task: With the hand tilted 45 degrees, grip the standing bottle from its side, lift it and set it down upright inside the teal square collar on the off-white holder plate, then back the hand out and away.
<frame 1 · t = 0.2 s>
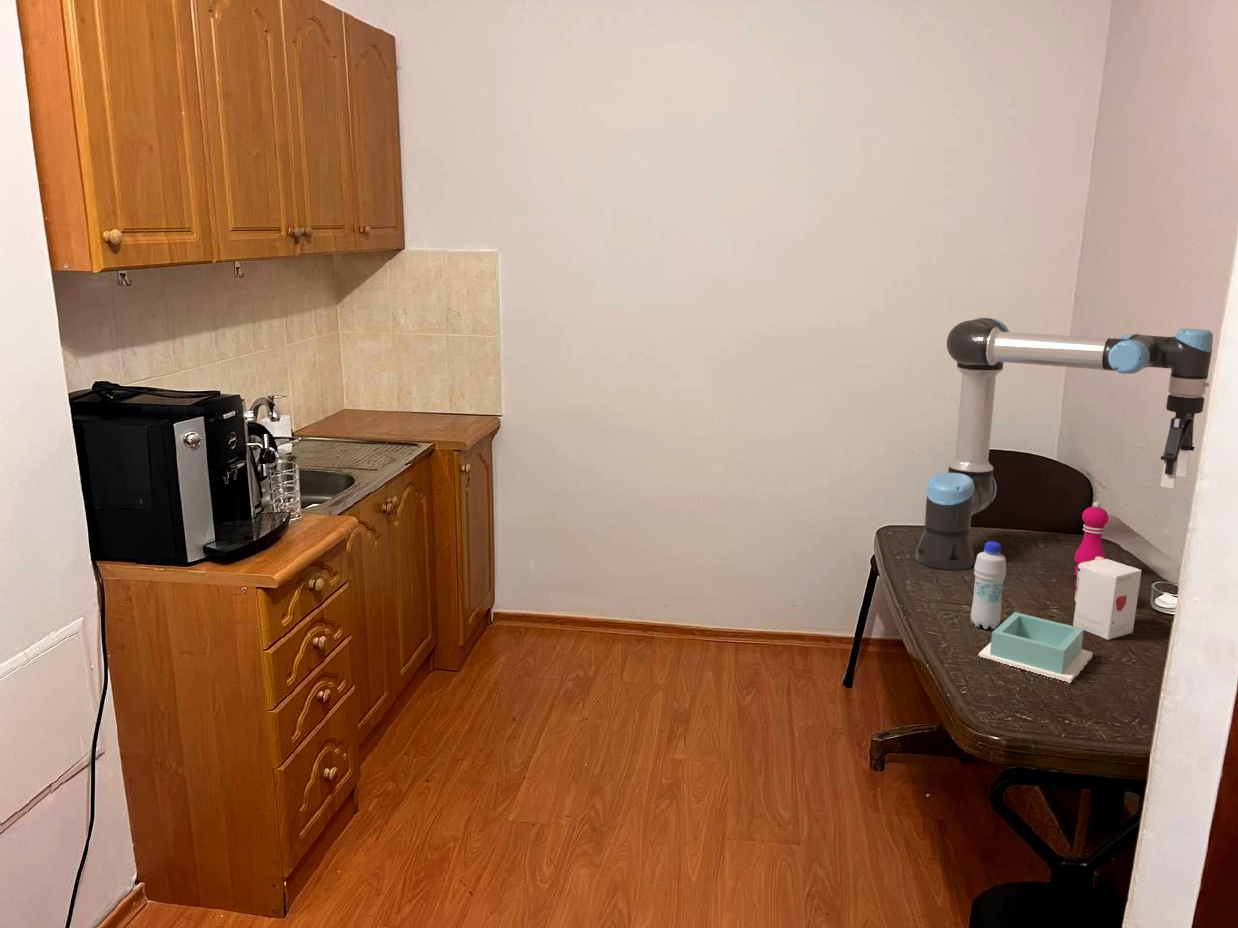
hand: (1173, 481, 224), 28 cm above the table, tool pointing down, fingers open, 13 cm apart
holder: (1035, 657, 194), on the table
teacup with lid: (1095, 606, 221), on the table
bottle: (984, 626, 210), on the table
supplement box: (1102, 630, 208), on the table
magenta tall rounded piece: (1088, 576, 241), on the table
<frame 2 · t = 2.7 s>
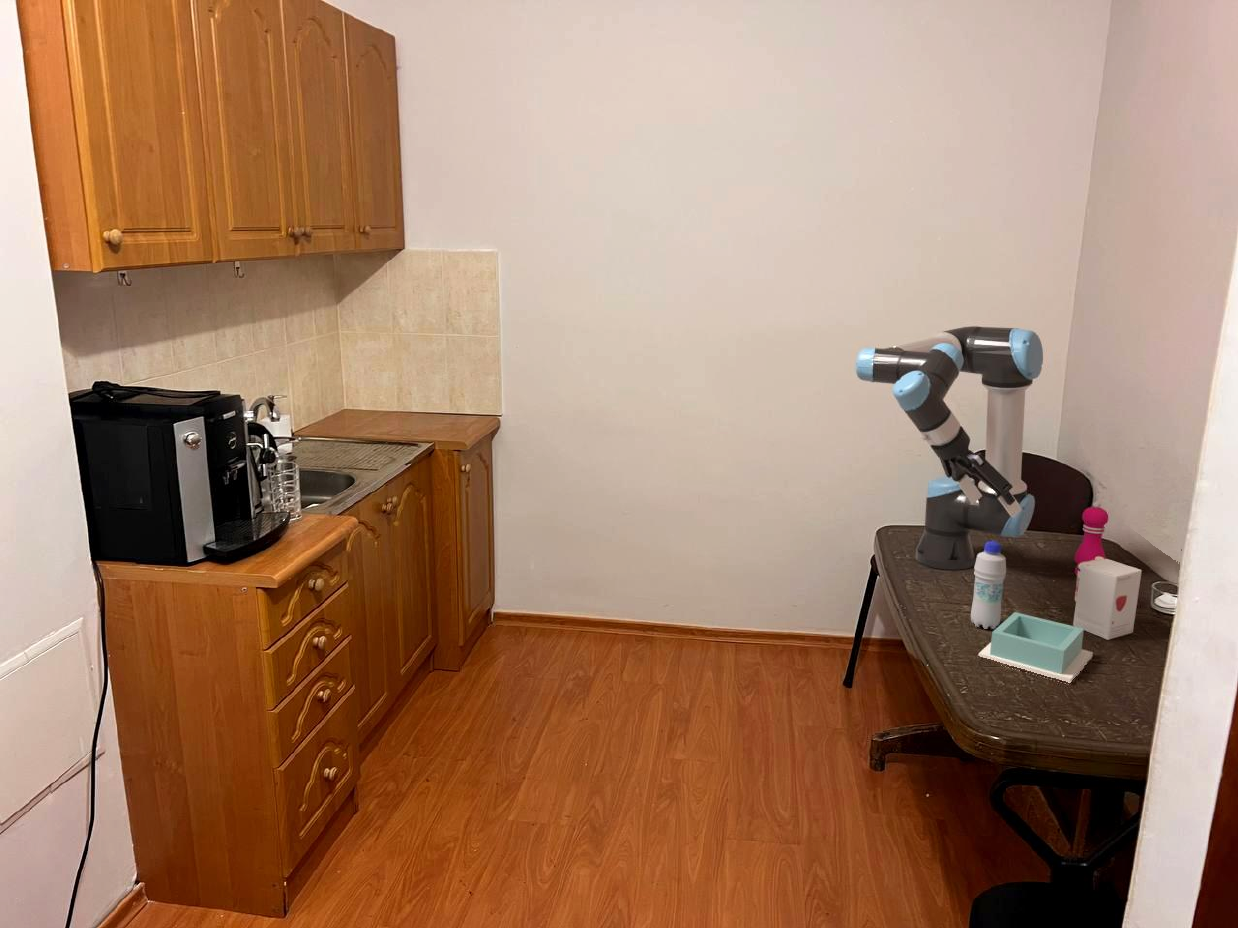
hand: (996, 506, 202), 29 cm above the table, tool tilted 40°, fingers open, 13 cm apart
nothing on the table moved.
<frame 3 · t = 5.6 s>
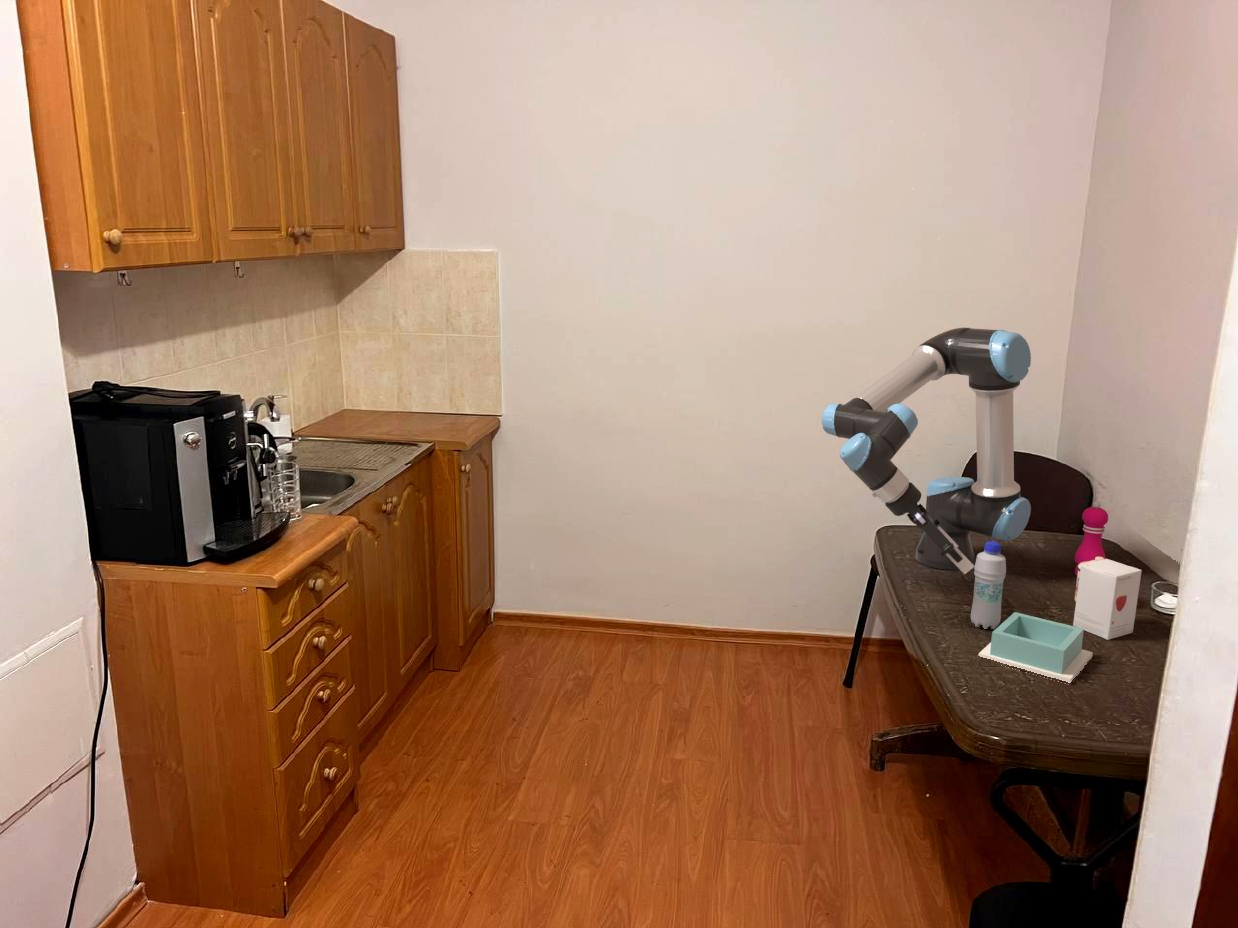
hand: (961, 559, 206), 16 cm above the table, tool tilted 45°, fingers open, 13 cm apart
nothing on the table moved.
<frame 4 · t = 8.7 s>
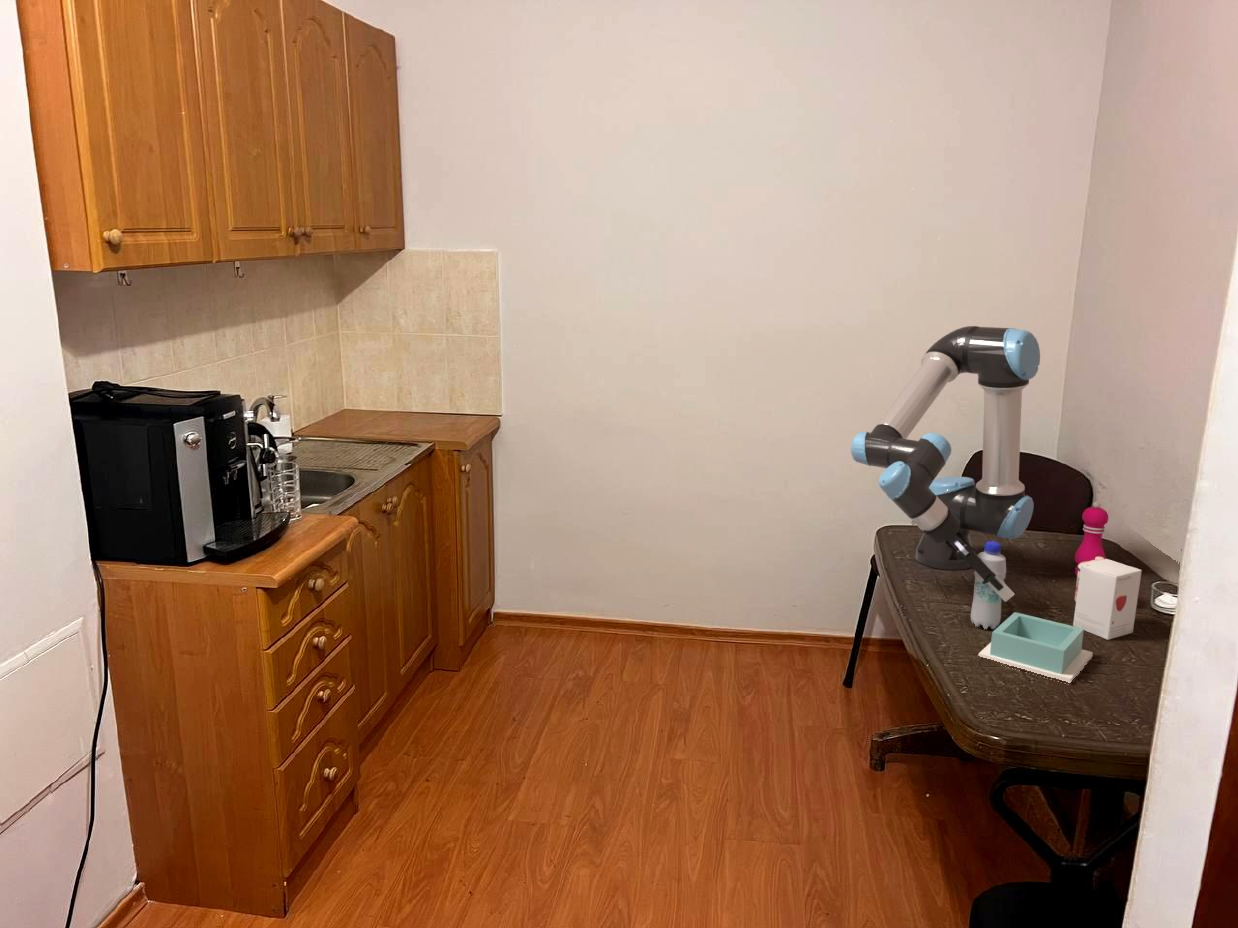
hand: (1004, 591, 208), 8 cm above the table, tool tilted 45°, fingers closed on bottle, 7 cm apart
bottle: (984, 626, 210), on the table, touching gripper
everything else where it was.
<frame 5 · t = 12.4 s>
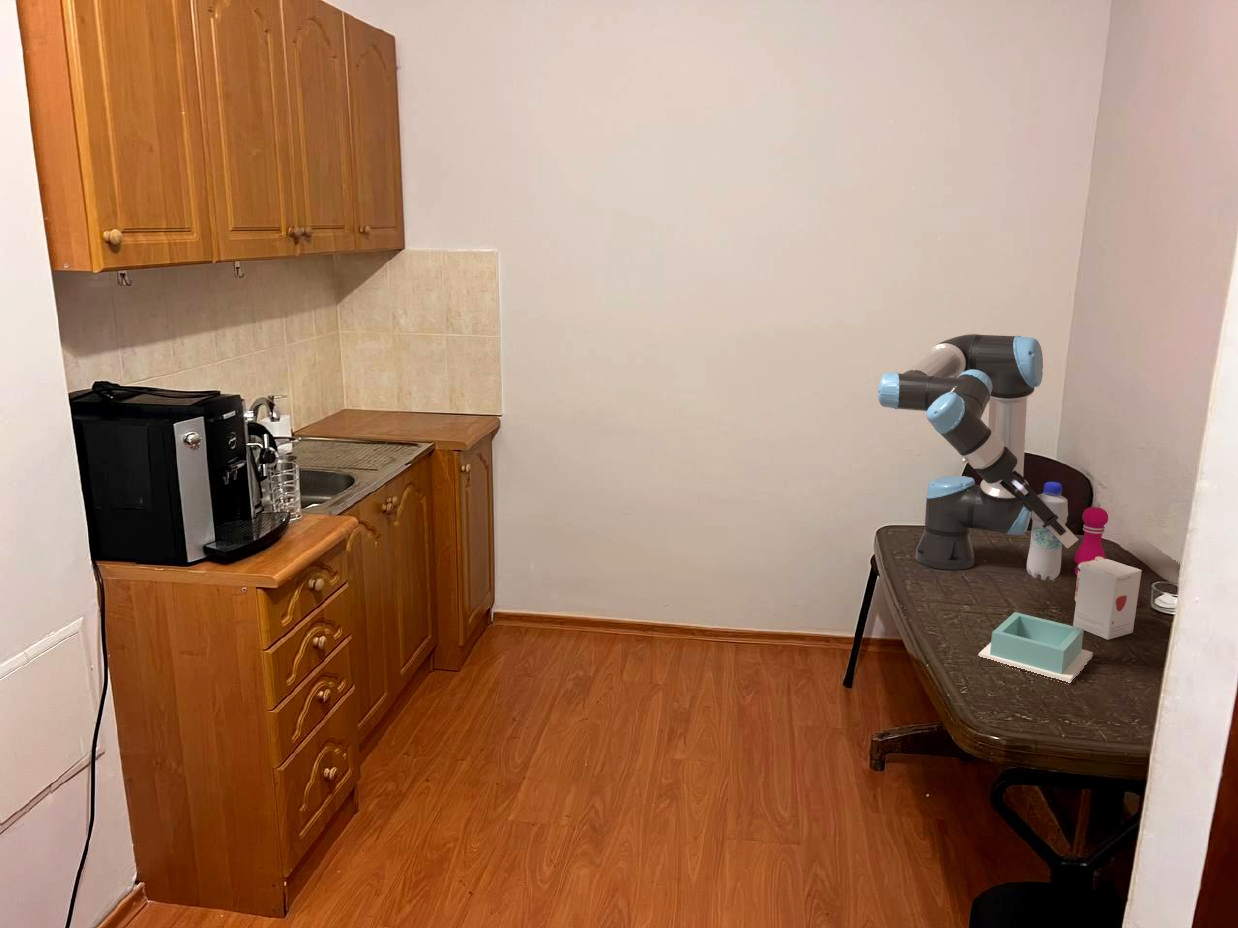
hand: (1065, 537, 187), 27 cm above the table, tool tilted 45°, fingers closed on bottle, 7 cm apart
bottle: (1042, 577, 190), point 18 cm above the table, touching gripper
everything else where it was.
when the fingers open (11 cm above the table, at t = 16.1 s): bottle drops 1 cm, resting on holder.
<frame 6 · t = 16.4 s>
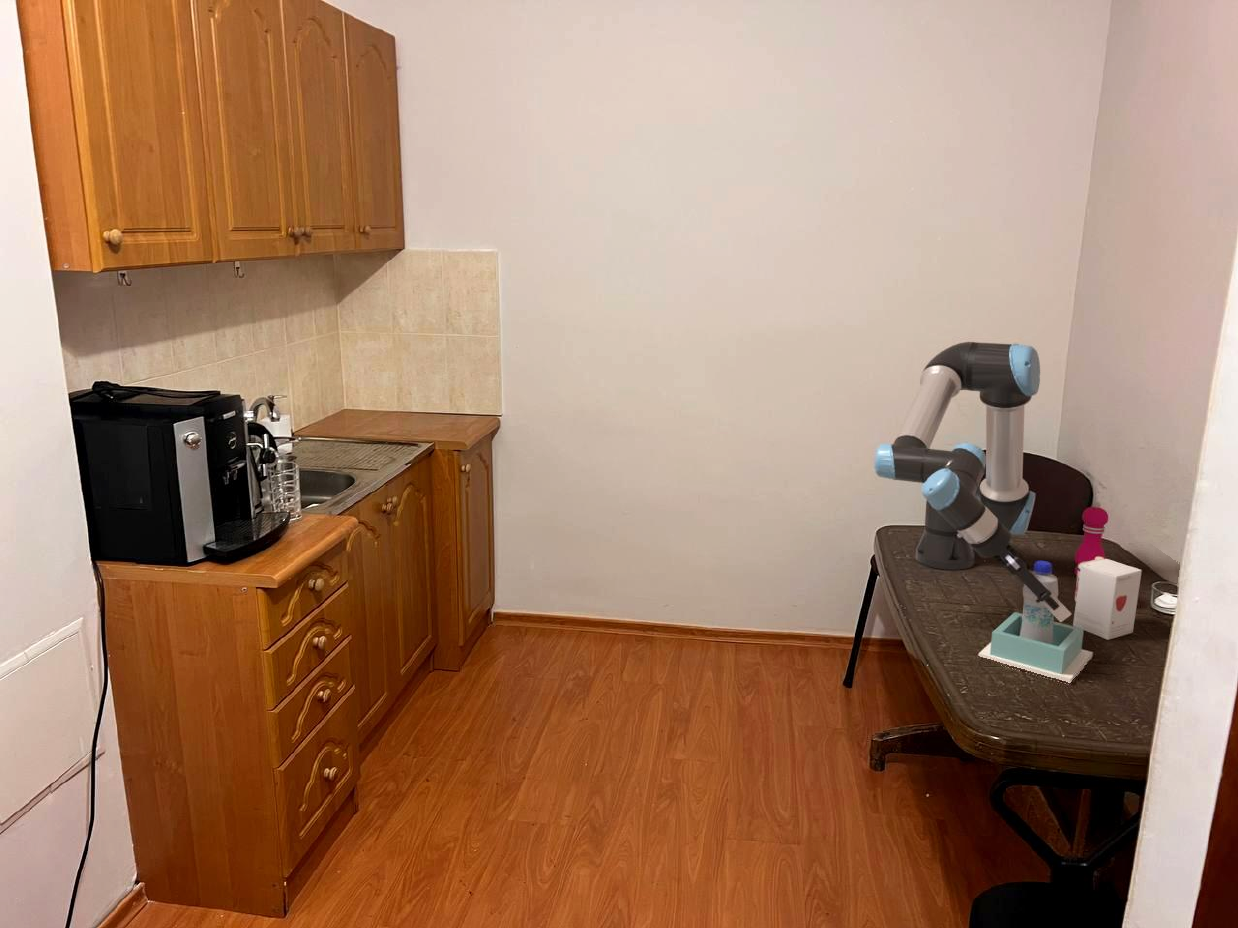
hand: (1055, 606, 191), 12 cm above the table, tool tilted 45°, fingers open, 10 cm apart
bottle: (1034, 652, 194), point 1 cm above the table, touching holder
everything else where it was.
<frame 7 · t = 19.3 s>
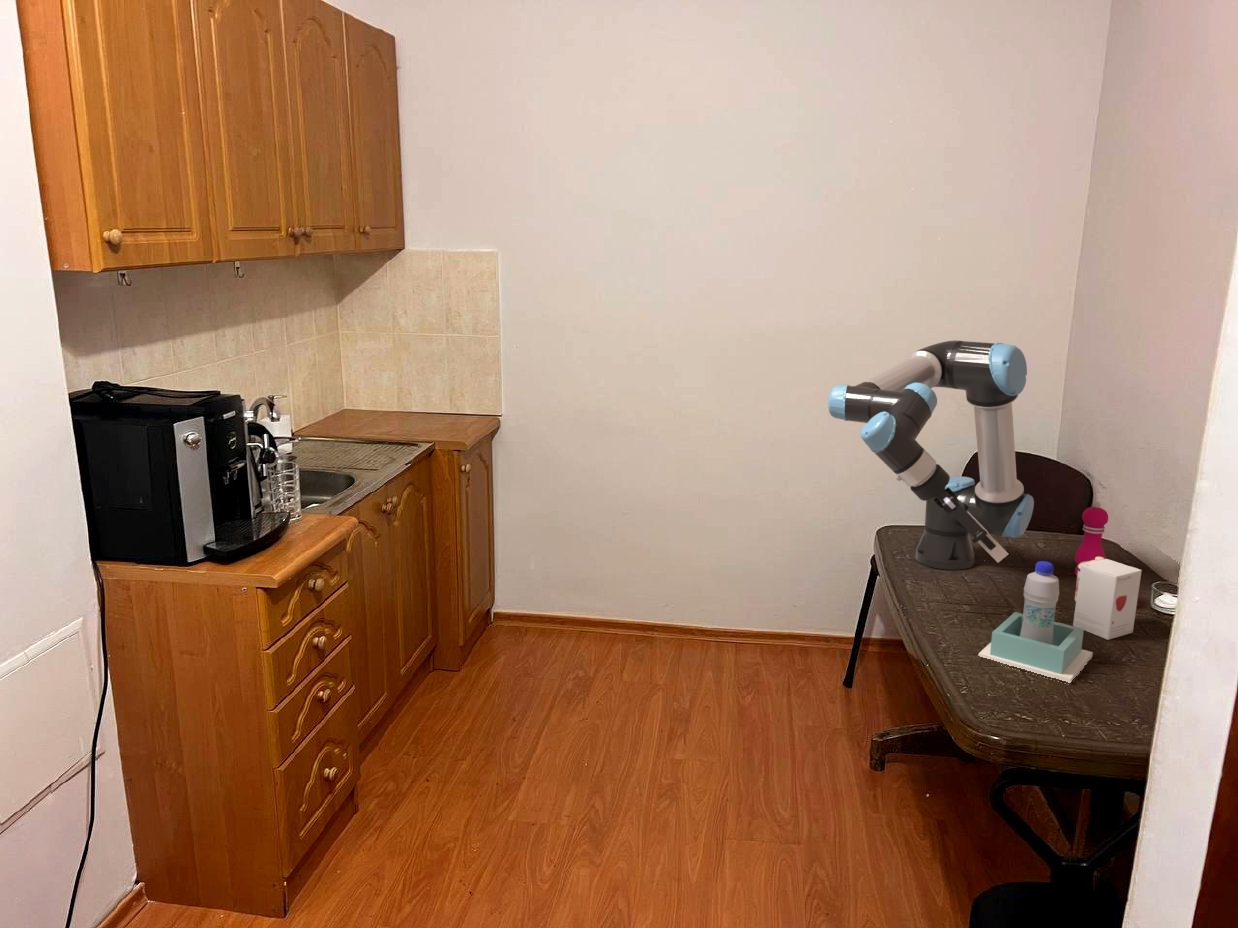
hand: (992, 546, 191), 24 cm above the table, tool tilted 45°, fingers open, 13 cm apart
nothing on the table moved.
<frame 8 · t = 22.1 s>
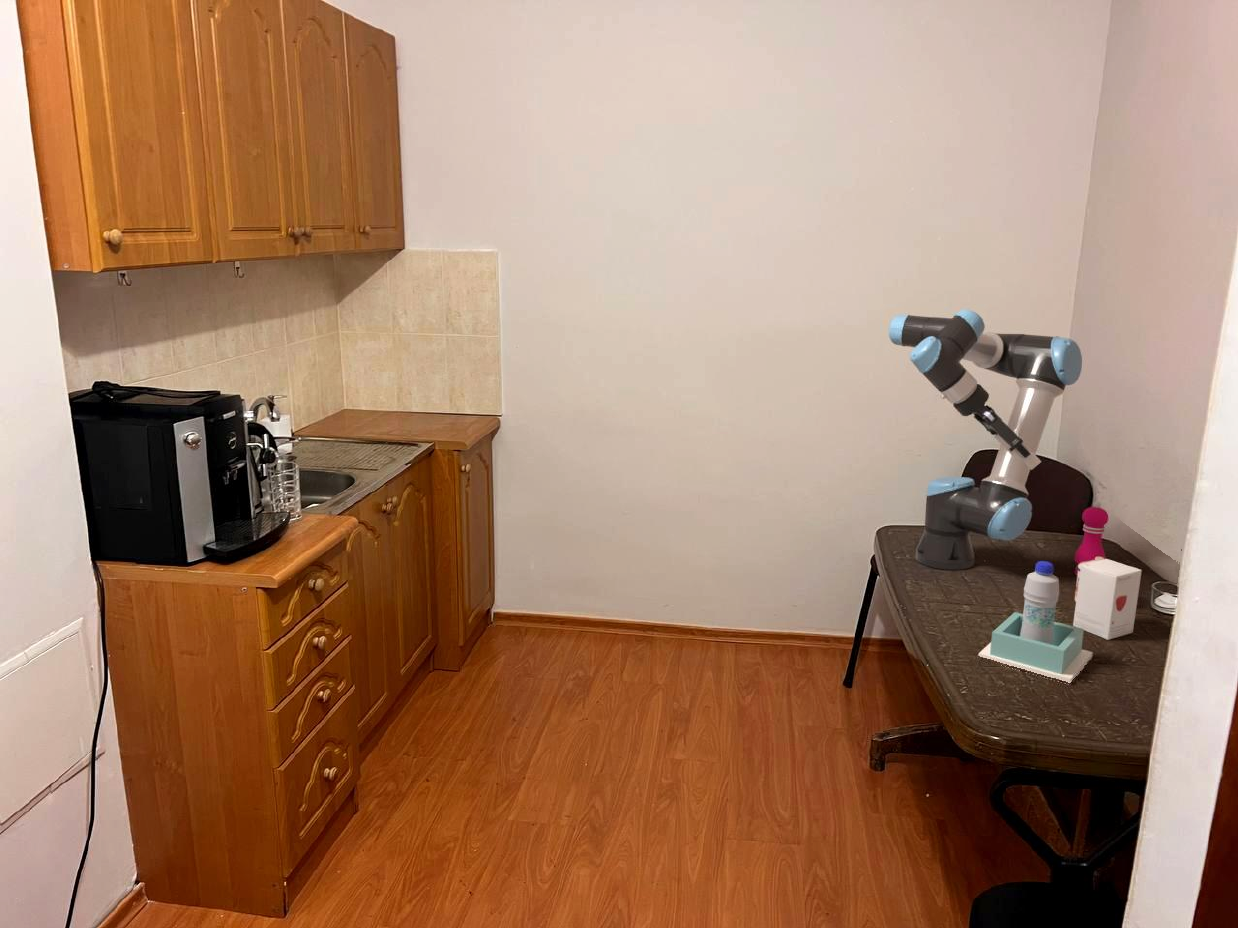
hand: (1026, 458, 215), 36 cm above the table, tool tilted 45°, fingers open, 13 cm apart
nothing on the table moved.
at the end: bottle 0.2 cm off-centre on the holder, point 1.0 cm above the holder's base; bottle tilted 0°; the gripper is holding nothing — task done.
